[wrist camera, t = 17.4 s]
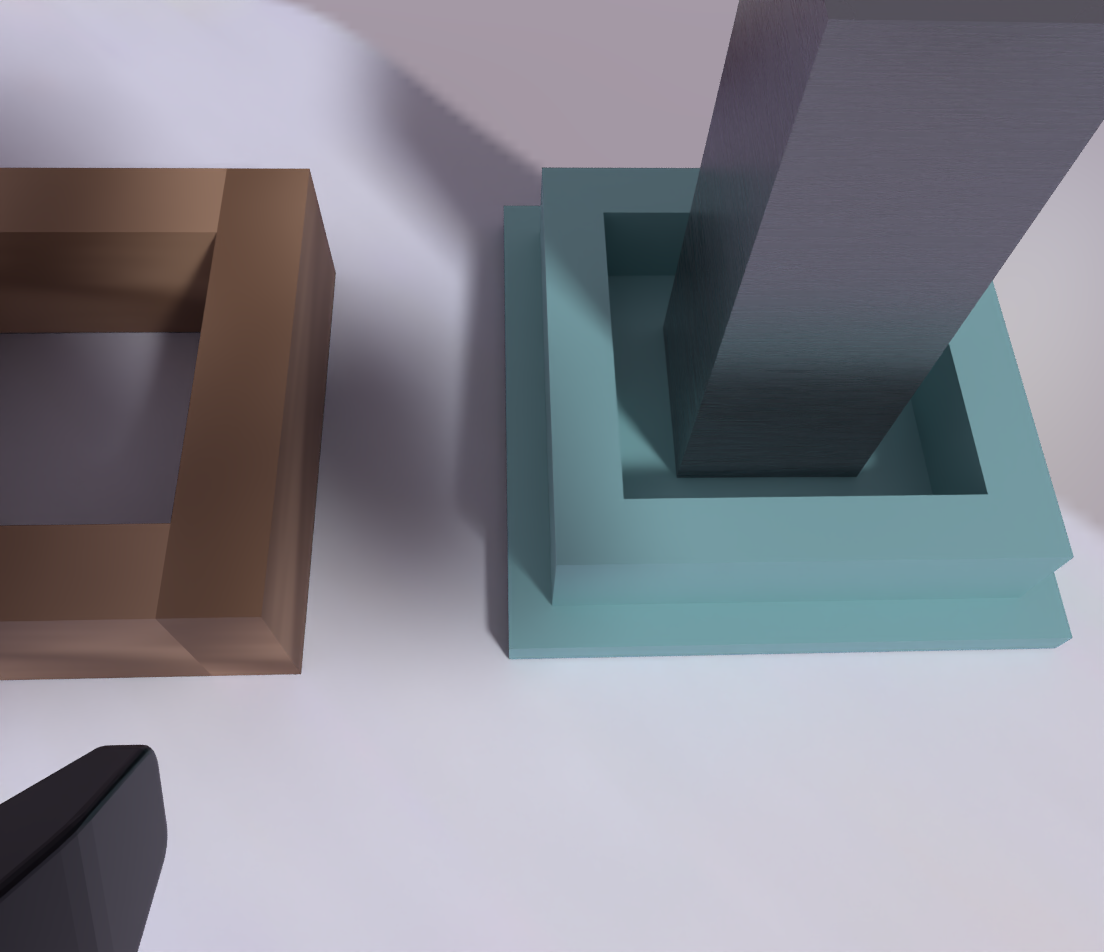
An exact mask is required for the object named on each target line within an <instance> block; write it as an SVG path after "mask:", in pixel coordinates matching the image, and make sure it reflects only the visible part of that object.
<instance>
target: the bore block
mask: <svg viewBox="0 0 1104 952" xmlns="http://www.w3.org/2000/svg"><path fill="white" fill-rule="evenodd" d="M335 275H336V272H335V268H334V264H333V260H332V256H331V252H330V248H329V244H328V240H327V236H326V232H325V228H324V224H323V220H322V216H321V212H320V208H319V204H318V200H317V196H316V192H315V188H314V184H313V181H312V177H311V173H310V169H221V168H0V333H79V332H201V335H200V341H199V347H198V353H197V360H196V366H195V372H194V379H193V385H192V391H191V397H190V404H189V410H188V416H187V423H186V429H185V435H184V442H183V448H182V454H181V460H180V467H179V473H178V479H177V486H176V492H175V498H174V504H173V511H172V517H171V523H157V524H82V525H7V526H0V680H32V679H81V678H129V677H178V676H227V675H275V674H301V669H302V657H303V646H304V634H305V623H306V611H307V599H308V588H309V576H310V565H311V553H312V541H313V530H314V518H315V507H316V495H317V483H318V472H319V460H320V449H321V437H322V425H323V414H324V402H325V391H326V379H327V367H328V356H329V344H330V333H331V321H332V309H333V298H334V286H335Z"/></svg>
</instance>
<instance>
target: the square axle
mask: <svg viewBox="0 0 1104 952" xmlns="http://www.w3.org/2000/svg"><path fill="white" fill-rule="evenodd" d="M1103 120H1104V0H739V4H738V8H737V13H736V17H735V21H734V26H733V30H732V34H731V38H730V43H729V47H728V51H727V55H726V60H725V64H724V69H723V73H722V77H721V81H720V86H719V90H718V94H717V98H716V103H715V107H714V111H713V116H712V120H711V124H710V128H709V133H708V137H707V141H706V146H705V150H704V154H703V158H702V163H701V167H700V171H699V175H698V180H697V184H696V188H695V193H694V197H693V201H692V205H691V210H690V214H689V218H688V223H687V227H686V231H685V235H684V240H683V244H682V248H681V253H680V257H679V261H678V265H677V270H676V274H675V278H674V283H673V287H672V291H671V295H670V300H669V304H668V308H667V313H666V317H665V321H664V325H663V333H664V344H665V355H666V366H667V377H668V388H669V399H670V410H671V421H672V432H673V443H674V454H675V465H676V476H677V478H726V477H857V476H858V474H859V473H860V471H861V470H862V469H863V467H864V466H865V464H866V463H867V461H868V460H869V458H870V457H871V455H872V454H873V453H874V451H875V450H876V448H877V447H878V445H879V444H880V442H881V441H882V440H883V438H884V437H885V435H886V434H887V432H888V431H889V429H890V428H891V427H892V425H893V424H894V422H895V421H896V419H897V418H898V416H899V415H900V414H901V412H902V411H903V409H904V408H905V406H906V405H907V403H908V402H909V401H910V399H911V398H912V396H913V395H914V393H915V392H916V390H917V389H918V388H919V386H920V385H921V383H922V382H923V380H924V379H925V377H926V376H927V374H928V373H929V372H930V370H931V369H932V367H933V366H934V364H935V363H936V361H937V360H938V359H939V357H940V356H941V354H942V353H943V351H944V350H945V348H946V347H947V346H948V344H949V343H950V341H951V340H952V338H953V337H954V335H955V334H956V333H957V331H958V330H959V328H960V327H961V325H962V324H963V322H964V321H965V320H966V318H967V317H968V315H969V314H970V312H971V311H972V309H973V308H974V307H975V305H976V304H977V302H978V301H979V299H980V298H981V296H982V295H983V293H984V292H985V291H986V289H987V288H988V286H989V285H990V283H991V282H992V280H993V279H994V278H995V276H996V275H997V273H998V272H999V270H1000V269H1001V267H1002V266H1003V265H1004V263H1005V262H1006V260H1007V259H1008V257H1009V256H1010V254H1011V253H1012V252H1013V250H1014V249H1015V247H1016V246H1017V244H1018V243H1019V241H1020V240H1021V239H1022V237H1023V235H1024V234H1025V233H1026V231H1027V230H1028V228H1029V227H1030V226H1031V224H1032V223H1033V221H1034V220H1035V218H1036V217H1037V215H1038V214H1039V213H1040V211H1041V210H1042V208H1043V207H1044V205H1045V204H1046V202H1047V201H1048V199H1049V198H1050V196H1051V195H1052V194H1053V192H1054V191H1055V189H1056V188H1057V186H1058V185H1059V184H1060V182H1061V181H1062V179H1063V178H1064V176H1065V175H1066V173H1067V172H1068V171H1069V169H1070V168H1071V166H1072V164H1073V163H1074V162H1075V160H1076V159H1077V157H1078V156H1079V155H1080V153H1081V152H1082V150H1083V149H1084V147H1085V146H1086V144H1087V143H1088V142H1089V140H1090V139H1091V137H1092V136H1093V134H1094V133H1095V132H1096V130H1097V129H1098V127H1099V126H1100V124H1101V123H1102V121H1103Z"/></svg>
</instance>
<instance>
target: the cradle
mask: <svg viewBox="0 0 1104 952" xmlns="http://www.w3.org/2000/svg"><path fill="white" fill-rule="evenodd" d="M699 171H700V168H542V185H541V206H504V277H505V362H506V447H507V532H508V618H509V659H540V658H590V657H640V656H690V655H740V654H790V653H840V652H889V651H939V650H989V649H1039V648H1056V647H1058V646H1060V645H1061V644H1063V643H1065V642H1066V641H1068V640H1070V639H1071V638H1072V635H1071V631H1070V627H1069V624H1068V620H1067V617H1066V613H1065V610H1064V606H1063V603H1062V599H1061V596H1060V592H1059V588H1058V585H1057V581H1056V578H1055V574H1054V571H1056V570H1057V569H1058V568H1060V567H1061V566H1062V565H1064V564H1065V563H1067V562H1068V561H1069V560H1071V559H1072V558H1073V557H1074V556H1073V553H1072V550H1071V546H1070V543H1069V539H1068V536H1067V533H1066V529H1065V526H1064V522H1063V519H1062V515H1061V512H1060V509H1059V505H1058V502H1057V498H1056V495H1055V492H1054V488H1053V485H1052V481H1051V478H1050V475H1049V471H1048V468H1047V464H1046V461H1045V458H1044V454H1043V451H1042V447H1041V444H1040V441H1039V437H1038V434H1037V430H1036V427H1035V424H1034V420H1033V417H1032V413H1031V410H1030V407H1029V403H1028V400H1027V396H1026V393H1025V390H1024V386H1023V383H1022V379H1021V376H1020V372H1019V369H1018V366H1017V363H1016V359H1015V355H1014V352H1013V349H1012V345H1011V342H1010V338H1009V335H1008V332H1007V328H1006V325H1005V321H1004V318H1003V315H1002V311H1001V308H1000V304H999V301H998V298H997V294H996V291H995V288H994V284H993V280H992V282H991V283H990V285H989V286H988V288H987V289H986V291H985V292H984V293H983V295H982V296H981V298H980V299H979V301H978V302H977V304H976V305H975V307H974V308H973V309H972V311H971V312H970V314H969V315H968V317H967V318H966V320H965V321H964V322H963V324H962V325H961V327H960V328H959V330H958V331H957V333H956V334H955V335H954V337H953V338H952V340H951V341H950V343H949V344H948V346H947V347H946V348H945V350H944V351H943V353H942V354H941V356H940V357H939V359H938V360H937V361H936V363H935V364H934V366H933V367H932V369H931V370H930V372H929V373H928V374H927V376H926V377H925V379H924V380H923V382H922V383H921V385H920V386H919V388H918V389H917V390H916V392H915V393H914V395H913V396H912V398H911V399H910V401H909V402H908V403H907V405H906V406H905V408H904V409H903V411H902V412H901V414H900V415H899V416H898V418H897V419H896V421H895V422H894V424H893V425H892V427H891V428H890V429H889V431H888V432H887V434H886V435H885V437H884V438H883V440H882V441H881V442H880V444H879V445H878V447H877V448H876V450H875V451H874V453H873V454H872V455H871V457H870V458H869V460H868V461H867V463H866V464H865V466H864V467H863V469H862V470H861V471H860V473H859V474H858V476H857V477H726V478H677V476H676V465H675V454H674V443H673V432H672V421H671V410H670V399H669V388H668V377H667V366H666V355H665V344H664V333H663V325H664V321H665V317H666V313H667V308H668V304H669V300H670V295H671V291H672V287H673V283H674V278H675V274H676V270H677V265H678V261H679V257H680V253H681V248H682V244H683V240H684V235H685V231H686V227H687V223H688V218H689V214H690V210H691V205H692V201H693V197H694V193H695V188H696V184H697V180H698V175H699Z"/></svg>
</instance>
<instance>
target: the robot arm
mask: <svg viewBox="0 0 1104 952" xmlns="http://www.w3.org/2000/svg"><path fill="white" fill-rule="evenodd" d="M166 848H167V823H166V816H165V809H164V802H163V795H162V788H161V781H160V773H159V766H158V761H157V758H156V755H155V753H154V751H153V750H152V749H151V748H150V747H149V746H147V745H109V746H102V747H98V748H96V749H94V750H93V751H91V752H89V753H88V754H86V755H84V756H82V757H81V758H79V759H77V760H76V761H74V762H72V763H70V764H69V765H67V766H65V767H64V768H62V769H60V770H58V771H57V772H55V773H53V774H51V775H50V776H48V777H46V778H45V779H43V780H41V781H39V782H38V783H36V784H34V785H33V786H31V787H29V788H27V789H26V790H24V791H22V792H21V793H19V794H17V795H15V796H14V797H12V798H10V799H9V800H7V801H5V802H3V803H2V804H0V952H138V949H139V945H140V942H141V938H142V935H143V931H144V928H145V925H146V921H147V918H148V914H149V911H150V907H151V904H152V900H153V897H154V893H155V890H156V887H157V883H158V880H159V876H160V873H161V869H162V866H163V862H164V858H165V854H166Z"/></svg>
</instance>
